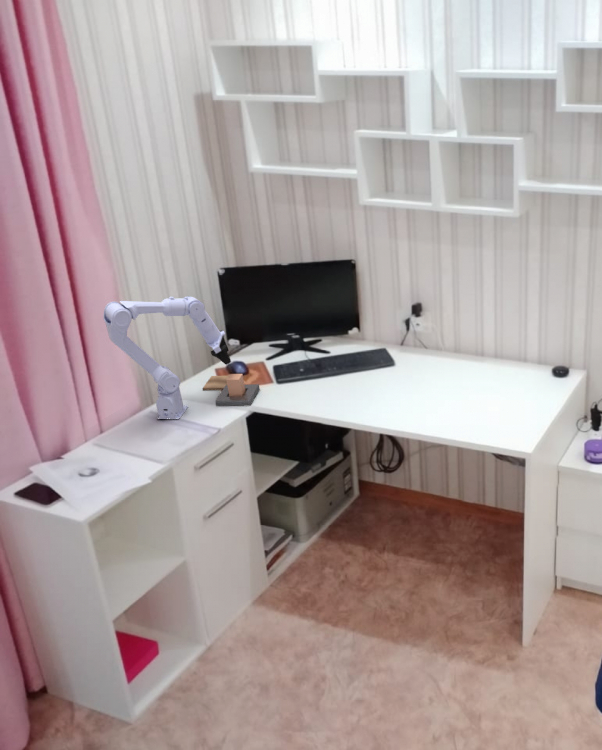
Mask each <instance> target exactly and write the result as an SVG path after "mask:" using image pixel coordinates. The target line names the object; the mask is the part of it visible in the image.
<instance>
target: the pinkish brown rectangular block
mask: <svg viewBox="0 0 602 750" xmlns="http://www.w3.org/2000/svg"><path fill="white" fill-rule="evenodd" d="M228 376H229V377H228V378H227V386H228V391H229V397H238V396H244V394H245V393H246V391H245V385H246V384H245V380H244V375H243V373H229V375H228Z"/></svg>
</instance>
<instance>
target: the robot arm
mask: <svg viewBox="0 0 602 750" xmlns="http://www.w3.org/2000/svg"><path fill="white" fill-rule="evenodd" d="M159 313H162V314H163V315H164V316H165V317H184V316H185V317H186V316H188V317H189V319H191V321H192V323H193V325H194V326H195V328H196V330H198V332H199V333H200V335H201V336H202V338H203V339H204V341H205V343H206V344H207V346H208V347H210V348H211V349H212V350H210V354H211V355H212V356H213V357H215V358H216V359H218V360H220V361H221V362H222V363H223V364H224V365H226V366H227V365H229V364H230V363H231V362H232V360H231V357H230V355H229V353H228V352H230V351H229V348H228V345H227V342H226V341H225V338H224V337H225V336H226V332H225V330H221V329H220V330H219V328H218V327H217V325H216V324H215V322H214V321H213V319H212V317H211V316H210V315H209V313H208V312H207V311H206V307H205V304H204V303H203V302H201V301H200V300H199V299H197V298H196V297H194V296H191V295H188V296H184V297H183V298H182V297H181V298H178V297H177V298H175V297H174V296H169V297H168V298H164V299H163V300H161V301H160V302H159V301H139V300H137V301H136V300H133V301H132V300H120V301H119V302H118V301H111V302H108V303H107V304H106V306H105V307H104V309H103V317H102V318H103V321H104V323H105V326H106V331H107V334H108V338H109V340H110V341H111V342H112V343H113V344H114V345H115V346H116V347H118V348H119V349H120V350H122V351H123V352H124V353H125V354H126V355H127V356H128V357H129V358H130V359H132V360H133V361H134V362H135V363H136V364H138V366H140V367H141V368H142V369H144V371H146V372H147V373H148V374H150V375H151V377H152V379H153V381H154V382H155V383H156V384H157V393H158V394H157V395H158V396H157V399H156V402H155V406H156V410H157V414H158V416H159V419H167V418H168V419H169V418H170V419H176V418H177V419H179V418H180V419H181V418H182V416H183V415H184V414H185V412H186V411H187V409H188V408H189V405H184V403H183V399H182V393H181V389H180V386H181V380H180V378H179V376H178V375H176V374H175V373H174V372H172V370H170V368H169V367H167V366H164V365H161V364H160V363H159V362H158V361H156V359H154V357H151V356H150V355H149V354H148V353H147V352H146V351H145V350H144V349H142V348H141V347H140V346H139V345H138V344H137V343H136V342H134V340H132V338H130V337H129V336H128V330H129V327H130V325H131V323H132V320H134V321H135V320H136V319H137V318H138V316H139V315H142V314H145V315H146V314H159ZM180 419H179V420H180Z"/></svg>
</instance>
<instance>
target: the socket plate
mask: <svg viewBox="0 0 602 750" xmlns="http://www.w3.org/2000/svg"><path fill="white" fill-rule="evenodd" d="M244 385H245V391H246V393H245V394H244V396H238V397H229V391H228V386H227V385H226V386H225V387H224V389H223V390H221V392H220V393H219V394H218V396H217V398H216V399H215V406H216V407H245V406H244V405H250V404H251V405H252V403H253V402H252V401H254V400H255V398H256V396H257V395H258V393H259V392H260V389H261V388H260V384H257V383H256V384H253V383H252V384H244ZM253 399H254V400H253ZM251 402H252V403H251ZM251 405H250V406H251Z"/></svg>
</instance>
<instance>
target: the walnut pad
mask: <svg viewBox="0 0 602 750" xmlns="http://www.w3.org/2000/svg"><path fill="white" fill-rule="evenodd" d="M228 377H229V375H211V376H210V377H209V379H208V380H207V381H206V383H205V384H204V385H203V387H202V391H222V389H224V387H225V386H226V385H227V378H228Z"/></svg>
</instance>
